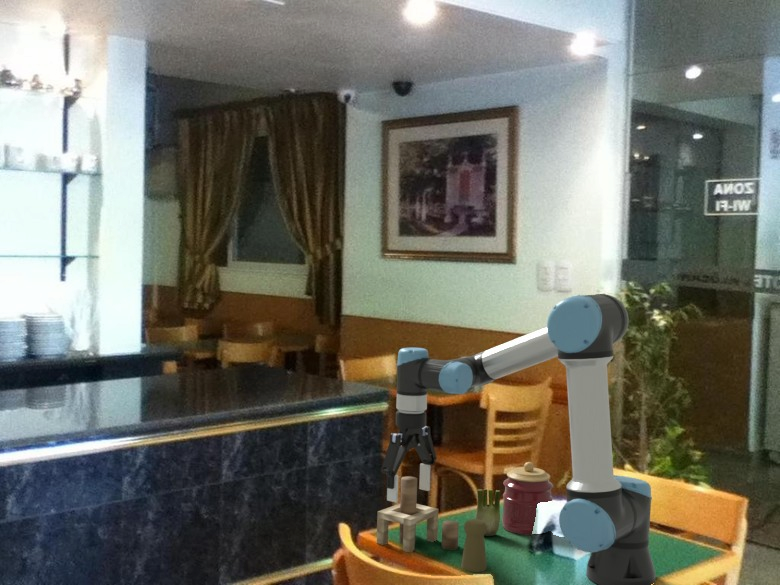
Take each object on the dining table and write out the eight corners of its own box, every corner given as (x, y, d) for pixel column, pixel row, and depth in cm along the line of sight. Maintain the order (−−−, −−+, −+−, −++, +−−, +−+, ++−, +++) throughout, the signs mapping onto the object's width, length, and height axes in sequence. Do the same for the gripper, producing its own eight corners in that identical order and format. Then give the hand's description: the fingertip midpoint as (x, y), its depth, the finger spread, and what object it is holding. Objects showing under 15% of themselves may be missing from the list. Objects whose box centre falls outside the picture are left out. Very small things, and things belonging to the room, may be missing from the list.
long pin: (418, 541, 237) (420, 478, 236) (409, 545, 234) (411, 481, 232) (405, 538, 239) (407, 475, 238) (395, 542, 236) (397, 478, 235)
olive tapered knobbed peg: (485, 572, 216) (487, 525, 216) (459, 570, 218) (460, 523, 217) (488, 563, 222) (490, 517, 222) (462, 561, 224) (464, 515, 223)
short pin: (461, 546, 234) (461, 522, 234) (452, 550, 231) (452, 526, 230) (447, 543, 236) (448, 519, 236) (438, 547, 233) (439, 523, 233)
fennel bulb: (500, 534, 244) (502, 488, 243) (492, 539, 240) (494, 493, 239) (480, 530, 247) (481, 485, 246) (472, 535, 243) (473, 489, 242)
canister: (492, 523, 253) (494, 458, 252) (533, 518, 259) (536, 454, 258) (519, 538, 241) (521, 470, 240) (561, 532, 247) (564, 465, 246)
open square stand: (437, 540, 238) (438, 508, 238) (409, 552, 229) (410, 519, 228) (405, 531, 244) (406, 501, 244) (376, 543, 235) (377, 511, 234)
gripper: (427, 402, 246) (425, 482, 248) (367, 415, 226) (365, 503, 228) (451, 405, 242) (449, 488, 243) (393, 420, 222) (390, 509, 223)
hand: (408, 495), depth 236 cm, fingers open, 13 cm apart
